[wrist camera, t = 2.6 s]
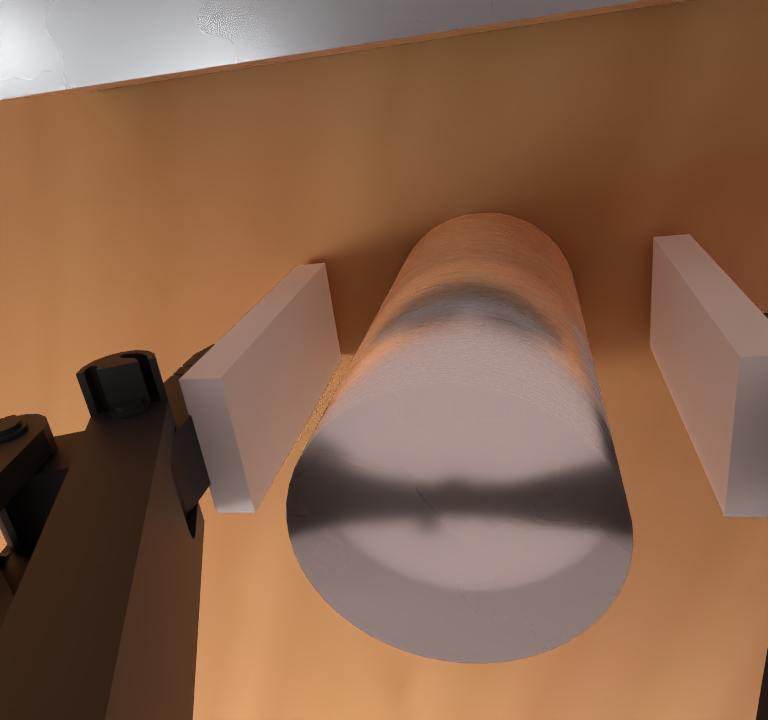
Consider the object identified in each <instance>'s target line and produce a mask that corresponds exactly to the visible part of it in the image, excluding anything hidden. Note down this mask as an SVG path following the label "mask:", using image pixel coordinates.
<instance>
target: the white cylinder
mask: <svg viewBox="0 0 768 720" xmlns="http://www.w3.org/2000/svg"><path fill="white" fill-rule="evenodd" d="M286 509H287V525H288V532H289V537H290V540H291V544H292V547H293V550H294V553H295V555H296V557H297V560H298V562H299V564H300V566H301V568H302V570H303V572H304V573H305V575H306V576H307V578H308V579H309V581H310V582H311V584H312V585H313V587H314V588H315V589H316V590H317V592H318V593H319V594H320V595H321V596H322V598H323V599H324V600H325V601H326V602H327V603H328V604H329V605H330V606H331V607H332V608H333V609H334V610H335V611H336V612H338V613H339V614H340V615H341V616H343V617H344V618H345V619H346V620H348V621H349V622H350V623H352V624H353V625H354V626H356V627H358V628H359V629H361V630H362V631H364V632H365V633H367V634H369V635H370V636H372V637H374V638H376V639H378V640H380V641H382V642H384V643H386V644H388V645H391V646H393V647H396V648H399V649H401V650H404V651H406V652H410V653H413V654H416V655H420V656H423V657H427V658H432V659H438V660H443V661H450V662H459V663H495V662H506V661H512V660H517V659H522V658H527V657H530V656H534V655H537V654H540V653H544V652H546V651H549V650H551V649H553V648H556V647H558V646H560V645H563V644H564V643H566V642H568V641H569V640H571V639H573V638H575V637H576V636H578V635H580V634H581V633H582V632H583V631H585V630H586V629H587V628H589V627H590V626H591V625H593V624H594V623H595V622H596V621H597V620H598V619H599V618H600V617H601V616H602V615H603V614H604V613H605V612H606V611H607V609H608V608H609V607H610V605H611V604H612V602H613V601H614V600H615V598H616V597H617V595H618V593H619V591H620V589H621V587H622V585H623V583H624V581H625V579H626V576H627V573H628V570H629V566H630V563H631V558H632V549H633V529H632V520H631V516H630V512H629V508H628V503H627V499H626V495H625V491H624V487H623V482H622V478H621V474H620V470H619V466H618V462H617V458H616V453H615V449H614V445H613V441H612V437H611V433H610V428H609V424H608V420H607V416H606V412H605V408H604V403H603V399H602V395H601V391H600V387H599V383H598V379H597V374H596V370H595V366H594V362H593V358H592V354H591V349H590V345H589V341H588V337H587V333H586V329H585V325H584V320H583V316H582V312H581V308H580V304H579V300H578V295H577V291H576V287H575V283H574V279H573V275H572V271H571V269H570V266H569V264H568V261H567V259H566V258H565V256H564V254H563V252H562V251H561V250H560V248H559V247H558V246H557V244H556V243H555V242H554V241H553V240H552V239H551V238H550V237H549V236H548V235H547V234H546V233H544V232H543V231H542V230H540V229H539V228H538V227H536V226H534V225H533V224H531V223H529V222H527V221H525V220H522V219H520V218H517V217H515V216H511V215H507V214H502V213H493V212H478V213H471V214H465V215H462V216H458V217H455V218H452V219H450V220H448V221H446V222H443V223H441V224H440V225H438V226H437V227H435V228H433V229H432V230H431V231H429V232H428V233H427V234H426V235H424V236H423V237H422V238H421V239H420V241H419V242H418V243H417V244H416V245H415V246H414V248H413V249H412V250H411V252H410V253H409V255H408V257H407V259H406V260H405V262H404V264H403V266H402V268H401V270H400V272H399V274H398V275H397V277H396V279H395V281H394V283H393V285H392V287H391V289H390V290H389V292H388V294H387V296H386V298H385V300H384V302H383V304H382V305H381V307H380V309H379V311H378V313H377V315H376V317H375V319H374V320H373V322H372V324H371V326H370V328H369V330H368V332H367V334H366V335H365V337H364V339H363V341H362V343H361V345H360V347H359V348H358V350H357V352H356V354H355V356H354V358H353V360H352V362H351V363H350V365H349V367H348V369H347V371H346V373H345V375H344V377H343V378H342V380H341V382H340V384H339V386H338V388H337V390H336V392H335V393H334V395H333V397H332V399H331V401H330V403H329V405H328V407H327V408H326V410H325V412H324V414H323V416H322V418H321V420H320V422H319V423H318V425H317V427H316V429H315V431H314V433H313V435H312V436H311V438H310V440H309V442H308V444H307V446H306V448H305V450H304V451H303V453H302V455H301V457H300V459H299V461H298V463H297V465H296V467H295V469H294V472H293V475H292V478H291V481H290V484H289V489H288V495H287V502H286Z"/></svg>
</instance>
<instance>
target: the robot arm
mask: <svg viewBox="0 0 768 720" xmlns="http://www.w3.org/2000/svg"><path fill="white" fill-rule="evenodd" d="M650 348H651V351H652V353H653V355H654V357H655V360H656V362H657V364H658V367H659V369H660V371H661V373H662V376H663V378H664V380H665V383H666V385H667V387H668V389H669V392H670V394H671V396H672V398H673V401H674V403H675V405H676V408H677V410H678V412H679V414H680V417H681V419H682V421H683V423H684V426H685V428H686V430H687V433H688V435H689V437H690V439H691V442H692V444H693V446H694V449H695V451H696V453H697V455H698V458H699V460H700V462H701V464H702V467H703V469H704V471H705V474H706V476H707V478H708V480H709V483H710V485H711V487H712V489H713V492H714V494H715V496H716V499H717V501H718V503H719V505H720V508H721V510H722V512H723V515H724V517H768V313H762V312H761V311H760V310H759V309H758V308H757V307H756V305H755V304H754V303H753V302H752V301H751V300H750V299H749V298H748V297H747V296H746V295H745V294H744V292H743V291H742V290H741V289H740V288H739V287H738V286H737V285H736V284H735V283H734V282H733V281H732V280H731V278H730V277H729V276H728V275H727V274H726V273H725V272H724V271H723V270H722V269H721V268H720V267H719V265H718V264H717V263H716V262H715V261H714V260H713V259H712V258H711V257H710V256H709V255H708V254H707V252H706V251H705V250H704V249H703V248H702V247H701V246H700V245H699V244H698V243H697V242H696V241H695V239H694V238H693V237H692V236H691V235H690V234H682V235H670V236H657V237H653V266H652V295H651V324H650ZM341 361H342V359H341V353H340V347H339V341H338V336H337V330H336V324H335V318H334V312H333V307H332V301H331V295H330V289H329V283H328V278H327V272H326V266H325V263H317V264H304V265H296V266H295V267H294V268H293V269H292V270H291V271H290V272H289V273H288V274H287V275H286V276H285V277H284V278H283V279H282V280H281V281H280V282H279V283H278V284H277V285H276V286H275V287H274V288H273V289H272V290H271V291H269V292H268V293H267V294H266V295H265V296H264V297H263V298H262V299H261V300H260V301H259V302H258V303H257V304H256V305H255V306H254V307H253V308H252V309H251V310H250V311H249V312H248V313H247V314H246V315H245V316H244V317H243V318H242V319H241V320H240V321H239V322H238V323H237V324H236V325H234V326H233V327H232V328H231V329H230V330H229V331H228V332H227V333H226V334H225V335H224V336H223V337H222V338H221V339H220V340H219V341H218V342H217V343H216V344H213V345H211V346H209V347H207V348H205V349H203V350H202V351H200V352H198V353H196V354H194V355H193V356H192V357H191V358H190V359H189V360H188V361H187V362H186V363H185V364H184V365H183V367H180V368H179V369H178V370H177V371H176V372H175V373H174V376H171V377H170V378H169V379H168V380H167V381H166V382H165V383H163V381H162V378H161V374H160V371H159V368H158V364H157V361H156V357H155V354H154V353H152V352H149V351H143V350H134V351H126V352H120V353H116V354H112V355H109V356H105V357H103V358H100V359H98V360H95V361H93V362H91V363H89V364H88V365H86V366H84V367H82V368H81V369H80V370H79V371H78V372H77V373H76V376H77V379H78V381H79V384H80V387H81V390H82V393H83V395H84V398H85V401H86V404H87V407H88V410H89V412H90V415H91V418H90V420H89V423H88V425H87V427H86V430H85V431H81V432H76V433H71V434H66V435H60V436H55V437H53V434H52V432H51V429H50V426H49V424H48V421H47V419H46V417H45V416H42V415H39V414H25V415H20V416H16V415H11V416H8V417H5V418H4V419H3V418H1V419H0V529H1V531H2V534H3V536H4V538H5V540H6V542H7V546H6V547H5V548H4V549H3V551H2V552H1V553H0V720H193V704H194V687H195V671H196V654H197V637H198V620H199V603H200V586H201V569H202V553H203V536H204V519H203V515H202V512H201V509H200V505H199V502H198V501H199V500H200V498H201V497H202V495H203V494H204V492H205V491H206V490H207V488H208V487H210V491H211V494H212V498H213V501H214V505H215V508H216V512H220V513H255V512H256V511H257V509H258V507H259V505H260V503H261V502H262V500H263V498H264V496H265V495H266V493H267V491H268V489H269V488H270V486H271V484H272V482H273V481H274V479H275V477H276V475H277V474H278V472H279V470H280V468H281V467H282V465H283V463H284V461H285V459H286V458H287V456H288V454H289V452H290V451H291V449H292V447H293V445H294V444H295V442H296V440H297V438H298V437H299V435H300V433H301V431H302V430H303V428H304V426H305V424H306V423H307V421H308V419H309V417H310V415H311V414H312V412H313V410H314V408H315V407H316V405H317V403H318V401H319V400H320V398H321V396H322V394H323V393H324V391H325V389H326V387H327V386H328V384H329V382H330V380H331V379H332V377H333V375H334V373H335V372H336V370H337V368H338V366H339V364H340V363H341ZM756 720H768V650H767V656H766V662H765V668H764V674H763V680H762V686H761V692H760V698H759V704H758V710H757V716H756Z"/></svg>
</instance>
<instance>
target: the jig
mask: <svg viewBox="0 0 768 720" xmlns="http://www.w3.org/2000/svg"><path fill="white" fill-rule="evenodd" d="M684 1H690V0H0V100H6V99H17V98H27V97H37V96H47V95H58V94H68V93H78V92H89V91H97V90H103V89H110V88H117V87H123V86H130V85H136V84H143V83H149V82H156V81H163V80H169V79H176V78H182V77H189V76H196V75H202V74H209V73H215V72H222V71H229V70H235V69H242V68H248V67H255V66H262V65H268V64H275V63H281V62H288V61H295V60H301V59H308V58H314V57H321V56H327V55H334V54H341V53H347V52H354V51H360V50H367V49H374V48H380V47H387V46H393V45H400V44H407V43H413V42H420V41H426V40H433V39H440V38H446V37H453V36H459V35H466V34H473V33H479V32H486V31H492V30H499V29H506V28H512V27H519V26H525V25H532V24H538V23H545V22H552V21H558V20H565V19H571V18H578V17H585V16H591V15H598V14H604V13H611V12H618V11H624V10H631V9H637V8H644V7H651V6H657V5H664V4H670V3H677V2H684Z"/></svg>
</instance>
